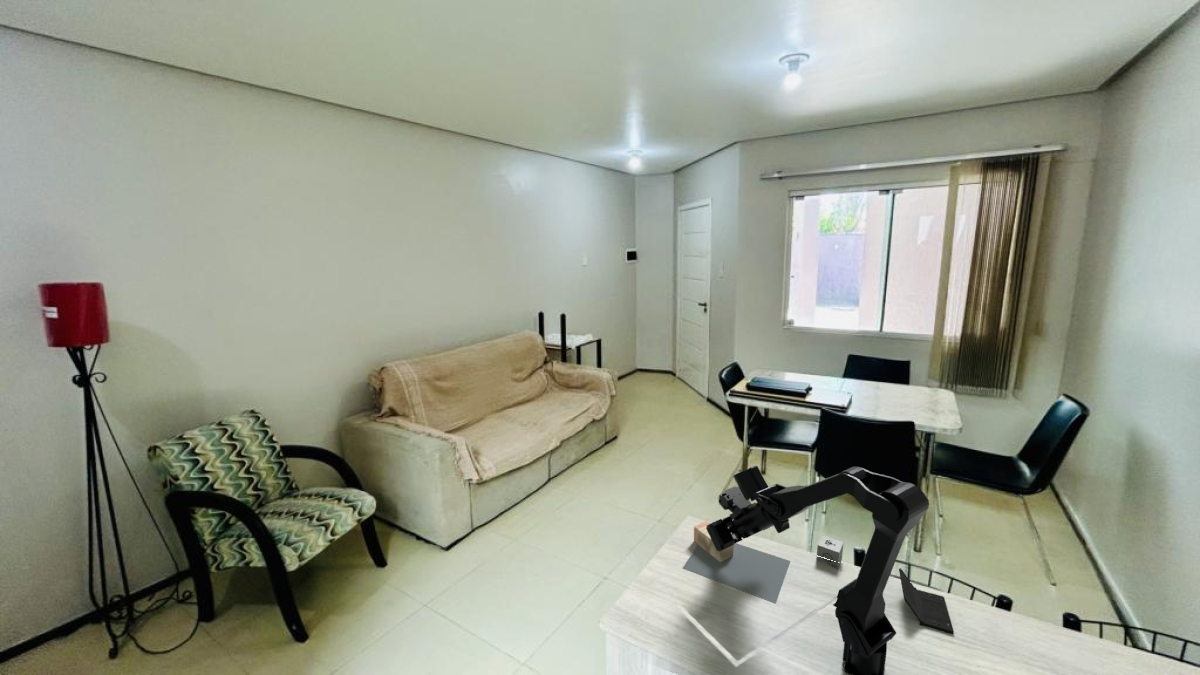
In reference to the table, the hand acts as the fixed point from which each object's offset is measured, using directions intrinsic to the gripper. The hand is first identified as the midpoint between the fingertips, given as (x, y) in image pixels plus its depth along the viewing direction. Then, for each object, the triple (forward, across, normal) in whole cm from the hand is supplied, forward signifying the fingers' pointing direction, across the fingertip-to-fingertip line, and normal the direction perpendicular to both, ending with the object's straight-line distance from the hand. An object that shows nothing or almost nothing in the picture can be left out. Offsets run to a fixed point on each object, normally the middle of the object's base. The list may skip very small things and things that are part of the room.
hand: (723, 534), depth 120 cm
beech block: (+2, 0, +4) cm, 4 cm away
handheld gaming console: (-20, -25, +31) cm, 45 cm away
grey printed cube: (-6, -22, +16) cm, 28 cm away
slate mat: (+2, -1, +8) cm, 8 cm away
